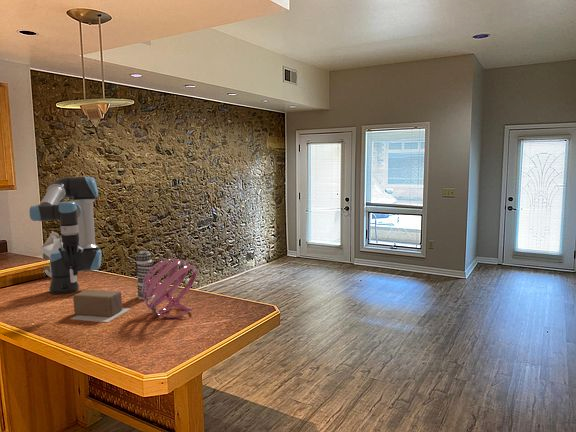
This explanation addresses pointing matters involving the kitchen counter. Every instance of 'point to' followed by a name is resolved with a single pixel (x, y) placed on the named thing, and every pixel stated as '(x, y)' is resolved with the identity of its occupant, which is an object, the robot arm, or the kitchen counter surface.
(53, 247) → the gable box
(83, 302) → the wooden block
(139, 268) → the decorative candle
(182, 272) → the spiral basket
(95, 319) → the mat
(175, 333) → the kitchen counter surface
